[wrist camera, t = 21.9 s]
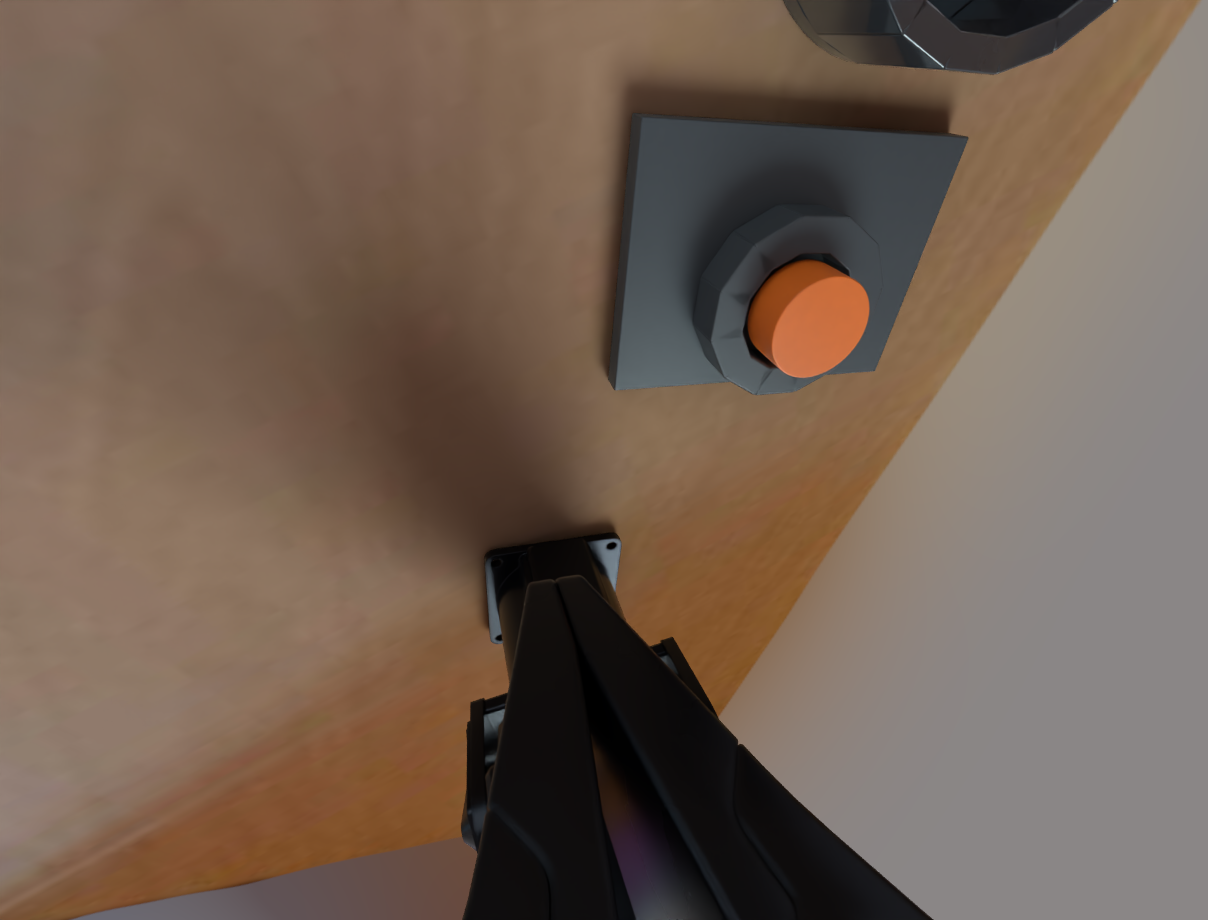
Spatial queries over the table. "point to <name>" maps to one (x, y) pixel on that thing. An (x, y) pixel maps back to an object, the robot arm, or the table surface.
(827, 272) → the button
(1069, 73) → the table surface
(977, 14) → the dark grey cup holder
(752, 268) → the button base
